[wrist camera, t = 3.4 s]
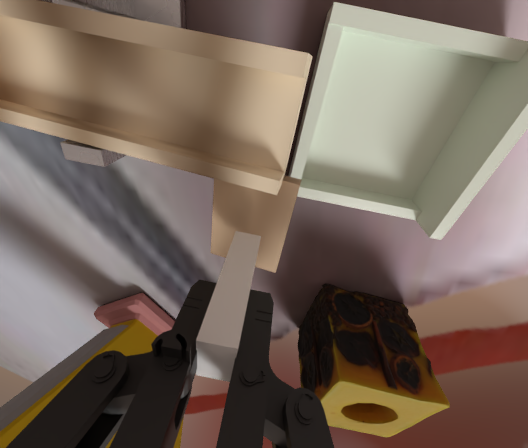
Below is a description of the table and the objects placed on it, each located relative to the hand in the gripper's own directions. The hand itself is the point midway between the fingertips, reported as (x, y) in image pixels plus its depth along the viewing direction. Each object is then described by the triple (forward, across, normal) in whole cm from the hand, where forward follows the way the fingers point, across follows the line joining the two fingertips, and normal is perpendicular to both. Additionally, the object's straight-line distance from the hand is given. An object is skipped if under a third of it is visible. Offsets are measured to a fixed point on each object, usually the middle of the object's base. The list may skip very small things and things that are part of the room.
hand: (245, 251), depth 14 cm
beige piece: (+5, -10, +4) cm, 12 cm away
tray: (+8, +7, +7) cm, 13 cm away
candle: (+9, +13, -15) cm, 22 cm away
